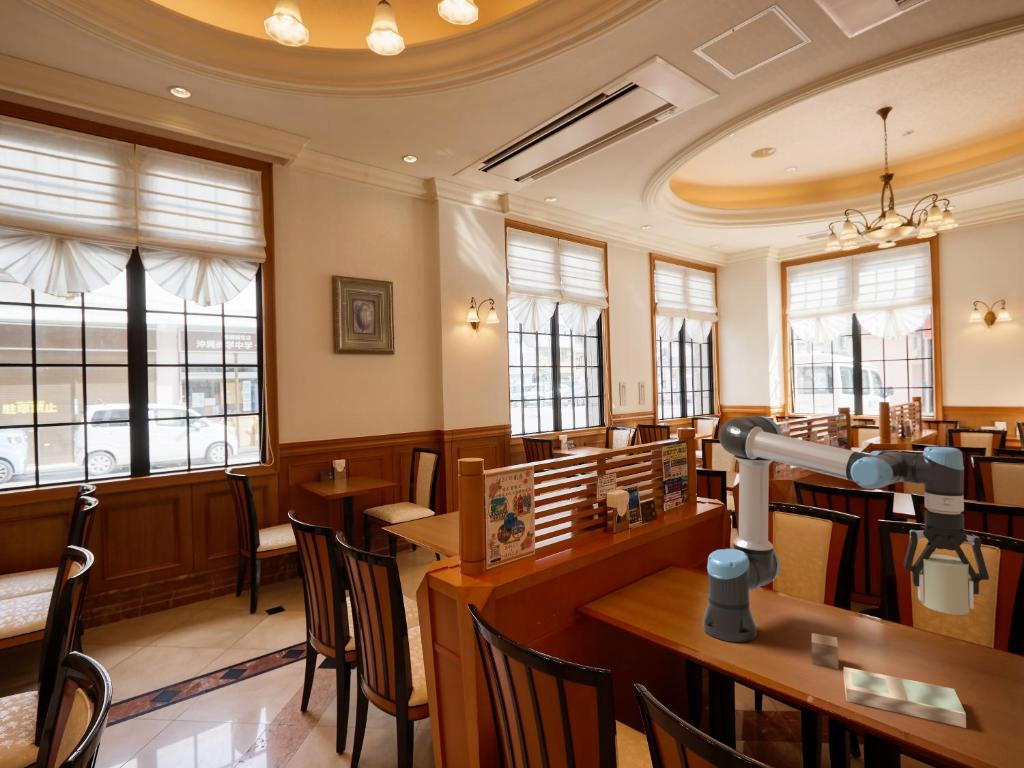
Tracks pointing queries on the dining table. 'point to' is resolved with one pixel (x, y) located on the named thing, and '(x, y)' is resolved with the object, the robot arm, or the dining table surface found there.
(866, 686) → the board
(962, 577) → the can
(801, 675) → the dining table surface
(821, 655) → the cube
